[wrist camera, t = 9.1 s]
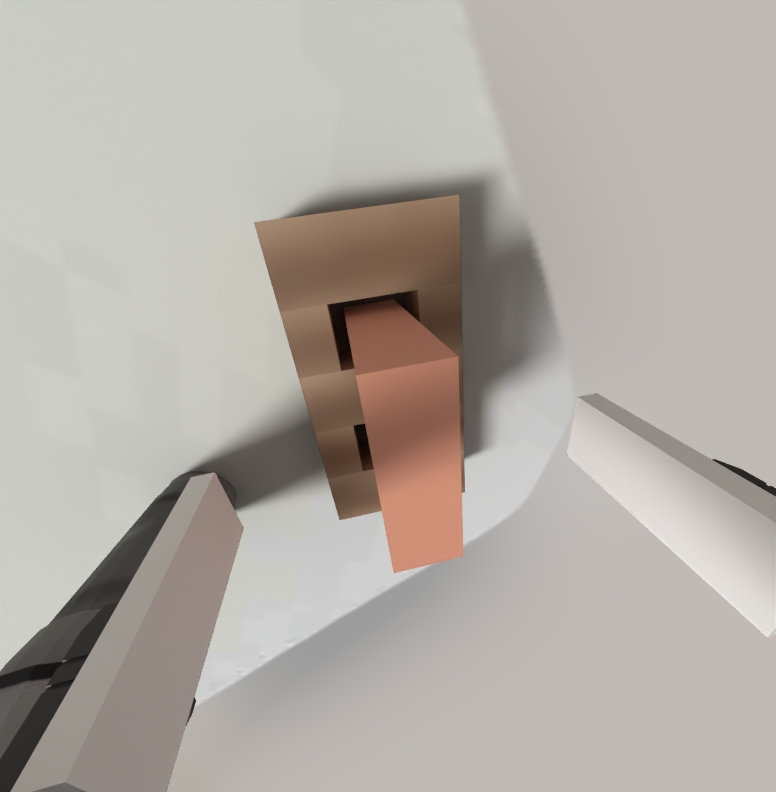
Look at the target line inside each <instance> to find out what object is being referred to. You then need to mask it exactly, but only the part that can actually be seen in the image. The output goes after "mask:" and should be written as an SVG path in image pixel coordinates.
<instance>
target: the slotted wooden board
mask: <svg viewBox="0 0 776 792" xmlns="http://www.w3.org/2000/svg"><path fill="white" fill-rule="evenodd" d="M254 224H255V227H256V231H257V234H258V238H259V241H260V245H261V248H262V252H263V255H264V259H265V262H266V265H267V269H268V272H269V276H270V279H271V283H272V286H273V290H274V293H275V297H276V300H277V304H278V307H279V311H280V314H281V318H282V321H283V325H284V328H285V332H286V335H287V339H288V342H289V346H290V349H291V352H292V356H293V359H294V363H295V366H296V370H297V373H298V377H299V380H300V384H301V387H302V391H303V394H304V398H305V401H306V405H307V408H308V412H309V415H310V419H311V422H312V426H313V429H314V433H315V436H316V439H317V443H318V446H319V450H320V453H321V457H322V460H323V464H324V467H325V471H326V474H327V478H328V481H329V485H330V488H331V492H332V495H333V499H334V502H335V506H336V509H337V513H338V516H339V520H342V519H347V518H351V517H356V516H360V515H365V514H369V513H374V512H378V511H382V509H381V504H380V498H379V493H378V488H377V483H376V478H375V472H374V467H373V462H372V457H371V452H370V447H369V443H364V444H359V441H358V436H357V432H356V427H355V425H359V424H364V423H365V421H364V415H363V410H362V405H361V400H360V395H359V390H358V384H357V379H356V374H355V368H354V363H353V358H352V352H345V353H340V351H339V346H338V342H337V337H336V332H335V327H334V323H333V318H332V313H331V308H330V304H333V303H339V302H345V301H352V300H358V299H364V298H370V297H376V296H383V295H389V294H395V293H401V292H406V301H407V311H408V313H410V314H411V315H412V316H413V317H414V318H415V319H416V320H417V321H419V322H420V323H421V324H422V325H423V326H424V327H425V328H427V329H428V330H429V331H430V332H431V333H432V334H433V335H434V336H436V337H437V338H438V339H439V340H440V341H441V342H442V343H444V344H445V345H446V346H447V347H448V348H449V349H450V350H451V351H453V352H454V353H455V354H456V355H457V356H458V364H459V405H460V446H461V487H462V493H463V492H465V476H464V421H463V365H462V309H461V254H460V198H459V195H452V196H445V197H437V198H430V199H423V200H415V201H408V202H401V203H393V204H386V205H379V206H371V207H364V208H357V209H349V210H342V211H334V212H327V213H320V214H312V215H305V216H298V217H290V218H283V219H276V220H268V221H261V222H254Z"/></svg>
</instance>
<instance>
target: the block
mask: <svg viewBox="0 0 776 792" xmlns="http://www.w3.org/2000/svg"><path fill="white" fill-rule="evenodd" d="M343 309H344V314H345V320H346V325H347V331H348V336H349V341H350V347H351V352H352V358H353V363H354V368H355V374H356V379H357V384H358V390H359V395H360V400H361V405H362V410H363V415H364V421H365V426H366V431H367V436H368V441H369V447H370V452H371V457H372V462H373V467H374V472H375V478H376V483H377V488H378V493H379V498H380V504H381V509H382V514H383V519H384V524H385V529H386V535H387V540H388V545H389V550H390V555H391V561H392V566H393V571H394V573H397V572H401V571H405V570H409V569H413V568H417V567H421V566H425V565H429V564H434V563H438V562H442V561H446V560H449V559H454V558H458V557H462V556H463V528H462V487H461V446H460V405H459V364H458V356H457V355H456V354H455V353H454V352H453V351H451V350H450V349H449V348H448V347H447V346H446V345H445V344H444V343H442V342H441V341H440V340H439V339H438V338H437V337H436V336H434V335H433V334H432V333H431V332H430V331H429V330H428V329H427V328H425V327H424V326H423V325H422V324H421V323H420V322H419V321H417V320H416V319H415V318H414V317H413V316H412V315H411V314H410V313H408V312H407V311H406V310H405V309H404V308H403V307H402V306H401V305H399V304H398V303H397V302H396V301H395V300H394V299H392V300H386V301H380V302H374V303H368V304H362V305H356V306H349V307H343Z"/></svg>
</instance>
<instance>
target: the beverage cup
mask: <svg viewBox="0 0 776 792" xmlns="http://www.w3.org/2000/svg"><path fill="white" fill-rule="evenodd" d="M204 474H209V473H204V472H192V473H187V474H184V475H181V476H179V477H177V478H176V479H174V480H173V481H172V482H171V483H170V485H169V486H168V487H167V488H166V489H165V490H164V491H163V492H162V493H161V494H160V495H159V496H158V497H157V498H156V499H155V500H154V501H153V502H152V504H151V505H150V506H149V507H148V508H147V510H146V511H145V512H144V513H143V514H142V515H141V517H140V518H139V519H138V520H137V521H136V522H135V524H134V525H133V526H132V527H131V528H130V530H129V531H128V532H127V533H126V534H125V535H124V537H123V538H122V539H121V540H120V541H119V542H118V544H117V545H116V546H115V547H114V548H113V550H112V551H111V552H110V553H109V554H108V555H107V557H106V558H105V559H104V560H103V561H102V562H101V564H100V565H99V566H98V567H97V568H96V570H95V571H94V572H93V573H92V574H91V575H90V577H89V578H88V579H87V580H86V581H85V582H84V584H83V585H82V586H81V587H80V588H79V590H78V591H77V592H76V593H75V594H74V595H73V597H72V598H71V599H70V600H69V601H68V602H67V604H66V605H65V606H64V607H63V608H62V610H61V611H60V612H59V613H58V614H57V615H56V617H55V618H54V619H53V620H52V621H51V622H50V624H49V625H48V626H46V627H44V628H43V629H41V630H40V631H39V632H38V633H37V634H36V635H35V636H34V637H33V638H32V639H31V640H30V641H29V642H28V643H27V644H26V645H25V646H24V647H23V648H22V649H21V650H20V651H19V652H18V653H17V654H16V655H15V656H14V657H13V658H12V659H11V660H10V661H9V662H8V663H7V664H6V665H5V666H4V668H3V669H2V670H1V671H0V758H1V757H2V755H3V754H4V752H5V751H6V749H7V747H8V746H9V744H10V743H11V741H12V739H13V738H14V736H15V735H16V733H17V731H18V730H19V728H20V727H21V725H22V724H23V722H24V720H25V719H26V717H27V716H28V714H29V712H30V711H31V709H32V708H33V706H34V704H35V703H36V701H37V700H38V698H39V697H40V695H41V693H44V692H45V691H46V688H47V687H46V685H47V684H48V682H49V681H50V679H51V678H52V676H53V674H54V673H55V671H56V670H57V668H58V667H59V666H61V665H62V660H63V658H64V657H65V655H66V654H67V652H68V651H69V649H70V647H71V646H72V644H73V643H74V641H75V639H76V638H77V636H78V635H79V633H80V632H81V630H82V629H83V628H84V627H85V626H86V625H87V624H88V623H89V622H90V621H91V620H92V619H93V617H94V616H95V615H96V614H97V613H98V612H99V611H100V610H101V609H102V608H103V607H104V606H105V605H109V604H113V603H117V602H120V600H121V598H122V597H123V595H124V593H125V591H126V590H127V588H128V586H129V584H130V583H131V581H132V579H133V577H134V576H135V574H136V572H137V570H138V569H139V567H140V565H141V563H142V562H143V560H144V558H145V557H146V555H147V553H148V551H149V550H150V548H151V546H152V544H153V543H154V541H155V539H156V537H157V536H158V534H159V532H160V530H161V529H162V527H163V525H164V523H165V522H166V520H167V518H168V516H169V515H170V513H171V511H172V509H173V508H174V506H175V504H176V502H177V501H178V499H179V497H180V496H181V494H182V492H183V490H184V489H185V487H186V485H187V483H188V482H189V480H190V478H191V477H194V476H199V475H204ZM217 477H218V476H217ZM218 479H219V481H220V483H221V485H222V487H223V489H224V491H225V493H226V495H227V497H228V499H229V500H230V502H231V504H232V506H233V508H234V504H235V500H236V496H235V491H234V490H233V488H232V487H231V485H230V484H229V483H228V482H226V481H225V480H224V479H223V478H221V477H218ZM195 703H196V700H195V697H194V700H193V703H192V706H191V710H190V713H189V717H188V720H187V723H188V721H189V719H190V717H191V715H192V713H193V709H194V706H195ZM186 725H187V724H186Z"/></svg>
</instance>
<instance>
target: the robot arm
mask: <svg viewBox="0 0 776 792" xmlns="http://www.w3.org/2000/svg"><path fill="white" fill-rule="evenodd" d="M567 456H568V457H569V458H571V459H572V460H573V461H574V462H575V463H576V464H577V465H578V466H580V468H582V469H583V470H584V471H585V472H586V473H587V474H588V475H589V476H590V477H592V478H593V479H594V480H595V481H596V482H597V483H598V484H599V485H600V486H602V488H604V489H605V490H606V491H607V492H608V493H609V494H610V495H611V496H612V497H613V498H615V499H616V500H617V501H618V502H619V503H620V504H621V505H622V506H623V507H624V508H626V509H627V510H628V511H629V512H630V513H631V514H632V515H634V517H635V518H637V519H638V520H639V521H640V522H641V523H642V524H643V525H644V526H645V527H647V528H648V529H649V530H650V531H651V532H652V533H653V534H654V535H655V536H656V537H658V538H659V539H660V540H661V541H662V542H663V543H664V544H665V545H666V546H668V548H670V549H671V550H672V551H673V552H674V553H675V554H676V555H677V556H678V557H679V558H681V559H682V560H683V561H684V562H685V563H686V564H687V565H688V566H690V567H691V568H692V569H693V570H694V571H695V572H696V573H697V574H698V575H699V576H700V577H701V578H703V579H704V580H705V581H706V582H707V583H708V584H709V585H710V586H711V587H713V588H714V589H715V590H716V591H717V592H718V593H719V594H720V595H721V596H722V597H724V598H725V599H726V600H727V601H728V602H729V603H730V604H731V605H732V606H733V607H735V608H736V609H737V610H738V611H739V612H740V613H741V614H742V615H743V616H744V617H746V618H747V619H748V620H749V621H750V622H751V623H752V624H753V625H754V626H755V627H757V628H758V629H759V630H760V631H761V632H762V633H763V634H764V635H766V636H767V637H770V636H774V635H776V488H774V487H772V486H767V485H766V483H765V482H763V481H762V480H760V479H758V478H756V477H754V476H753V475H751V474H749V473H747V472H746V471H744V470H742V469H739V468H737V467H734V466H731V465H729V464H726V463H724V462H721V461H718V460H715V459H713V460H711V459H709V458H708V457H706V456H704V455H703V454H701V453H699V452H698V451H696V450H694V449H692V448H690V447H689V446H687V445H685V444H684V443H682V442H680V441H679V440H677V439H675V438H673V437H671V436H670V435H668V434H666V433H665V432H663V431H661V430H659V429H658V428H656V427H654V426H653V425H651V424H649V423H647V422H645V421H643V420H642V419H640V418H639V417H637V416H635V415H633V414H632V413H630V412H628V411H626V410H625V409H623V408H621V407H620V406H618V405H616V404H614V403H613V402H611V401H609V400H607V399H606V398H604V397H602V396H600V395H599V394H597V393H595V394H591V395H586V396H581V397H578V399H577V404H576V409H575V415H574V420H573V425H572V430H571V435H570V441H569V446H568V451H567ZM243 528H244V527H243V526H242V524H241V522H240V520H239V518H238V516H237V514H236V512H235V510H234V508H233V506H232V504H231V502H230V500H229V499H228V497H227V495H226V493H225V491H224V489H223V487H222V485H221V483H220V481H219V479H218V477H217V475H216V473H215V472H214V473H209V474H204V475H199V476H194V477H191V478H190V480H189V482H188V483H187V485H186V487H185V489H184V490H183V492H182V494H181V496H180V497H179V499H178V501H177V502H176V504H175V506H174V508H173V509H172V511H171V513H170V515H169V516H168V518H167V520H166V522H165V523H164V525H163V527H162V529H161V530H160V532H159V534H158V536H157V537H156V539H155V541H154V543H153V544H152V546H151V548H150V550H149V551H148V553H147V555H146V557H145V558H144V560H143V562H142V563H141V565H140V567H139V569H138V570H137V572H136V574H135V576H134V577H133V579H132V581H131V583H130V584H129V586H128V588H127V590H126V591H125V593H124V595H123V597H122V598H121V600H120V602H117V603H113V604H109V605H105V606H104V607H103V608H102V609H101V610H100V611H99V612H98V613H97V614H96V615H95V616H94V617H93V619H92V620H91V621H90V622H89V623H88V624H87V625H86V626H85V627H84V628H83V629H82V630H81V632H80V633H79V635H78V636H77V638H76V639H75V641H74V643H73V644H72V646H71V647H70V649H69V651H68V652H67V654H66V655H65V657H64V658H63V660H62V665H61V666H59V667H58V668H57V670H56V671H55V673H54V674H53V676H52V678H51V679H50V681H49V682H48V684H47V685H46V687H47V688H46V691H45V692H44V693H41V695H40V697H39V698H38V700H37V701H36V703H35V704H34V706H33V708H32V709H31V711H30V712H29V714H28V716H27V717H26V719H25V720H24V722H23V724H22V725H21V727H20V728H19V730H18V731H17V733H16V735H15V736H14V738H13V739H12V741H11V743H10V744H9V746H8V747H7V749H6V751H5V752H4V754H3V755H2V757H1V758H0V792H167V789H168V785H169V782H170V778H171V775H172V771H173V768H174V765H175V761H176V758H177V754H178V751H179V747H180V744H181V740H182V737H183V733H184V730H185V726H186V724H187V720H188V717H189V713H190V710H191V706H192V703H193V700H194V696H195V693H196V689H197V686H198V682H199V679H200V676H201V672H202V669H203V665H204V662H205V658H206V655H207V652H208V648H209V645H210V641H211V638H212V634H213V631H214V628H215V624H216V621H217V617H218V614H219V610H220V607H221V604H222V600H223V597H224V593H225V590H226V587H227V583H228V580H229V576H230V573H231V569H232V566H233V563H234V559H235V556H236V552H237V549H238V545H239V542H240V539H241V535H242V532H243Z"/></svg>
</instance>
